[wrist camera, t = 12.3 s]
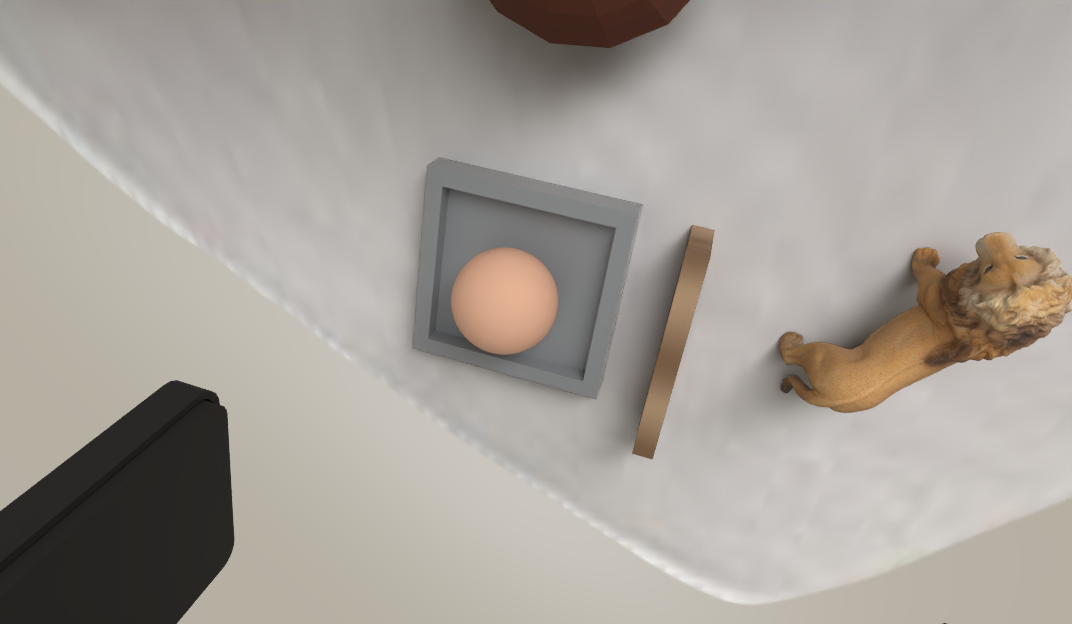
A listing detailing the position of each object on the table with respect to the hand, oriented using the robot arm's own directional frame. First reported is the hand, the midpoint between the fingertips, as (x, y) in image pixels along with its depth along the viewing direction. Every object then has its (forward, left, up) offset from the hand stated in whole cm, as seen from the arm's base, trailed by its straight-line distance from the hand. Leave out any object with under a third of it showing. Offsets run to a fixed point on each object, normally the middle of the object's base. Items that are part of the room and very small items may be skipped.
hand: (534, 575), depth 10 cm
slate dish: (+12, -8, -32) cm, 35 cm away
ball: (+12, -8, -32) cm, 35 cm away
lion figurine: (+7, +12, -33) cm, 35 cm away
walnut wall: (+13, +2, -32) cm, 35 cm away
